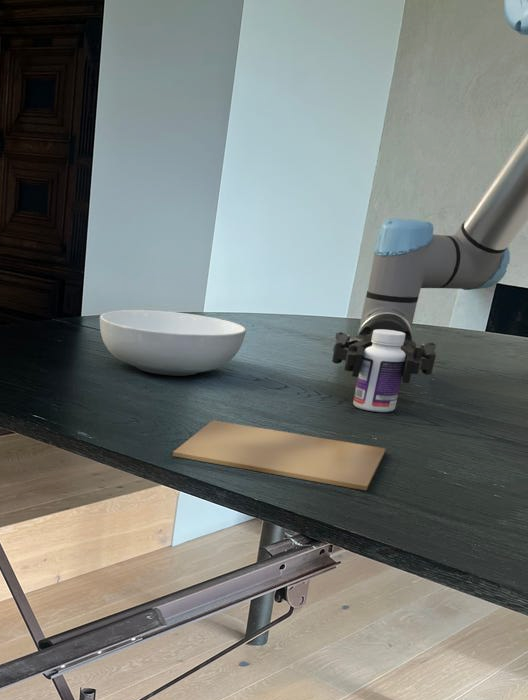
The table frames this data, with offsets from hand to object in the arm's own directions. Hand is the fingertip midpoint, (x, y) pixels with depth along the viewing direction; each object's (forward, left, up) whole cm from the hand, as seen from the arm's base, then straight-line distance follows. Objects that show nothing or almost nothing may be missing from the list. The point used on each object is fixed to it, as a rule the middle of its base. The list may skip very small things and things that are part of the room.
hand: (382, 368), depth 123 cm
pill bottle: (+1, -5, -6) cm, 8 cm away
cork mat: (+7, +25, -6) cm, 26 cm away
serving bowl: (+31, -10, -6) cm, 33 cm away
